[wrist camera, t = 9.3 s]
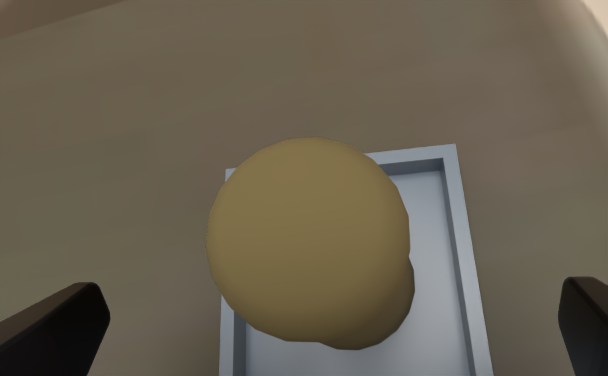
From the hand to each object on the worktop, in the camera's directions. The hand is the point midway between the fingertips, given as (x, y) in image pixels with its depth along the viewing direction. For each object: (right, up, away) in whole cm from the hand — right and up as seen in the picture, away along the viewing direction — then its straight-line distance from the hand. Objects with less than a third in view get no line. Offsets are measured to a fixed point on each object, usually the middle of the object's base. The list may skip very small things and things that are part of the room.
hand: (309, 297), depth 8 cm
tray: (+2, -2, +12) cm, 12 cm away
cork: (+2, -2, +12) cm, 12 cm away
